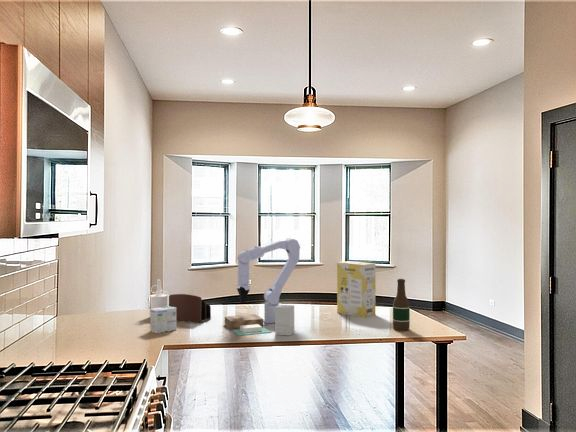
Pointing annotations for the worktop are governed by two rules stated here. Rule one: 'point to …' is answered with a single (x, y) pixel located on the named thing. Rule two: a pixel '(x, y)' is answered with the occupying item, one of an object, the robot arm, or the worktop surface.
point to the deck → (242, 321)
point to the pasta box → (356, 288)
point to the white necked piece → (159, 297)
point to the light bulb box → (163, 319)
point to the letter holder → (190, 308)
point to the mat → (251, 332)
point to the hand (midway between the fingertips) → (242, 302)
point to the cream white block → (250, 328)
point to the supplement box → (284, 320)
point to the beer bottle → (401, 308)
